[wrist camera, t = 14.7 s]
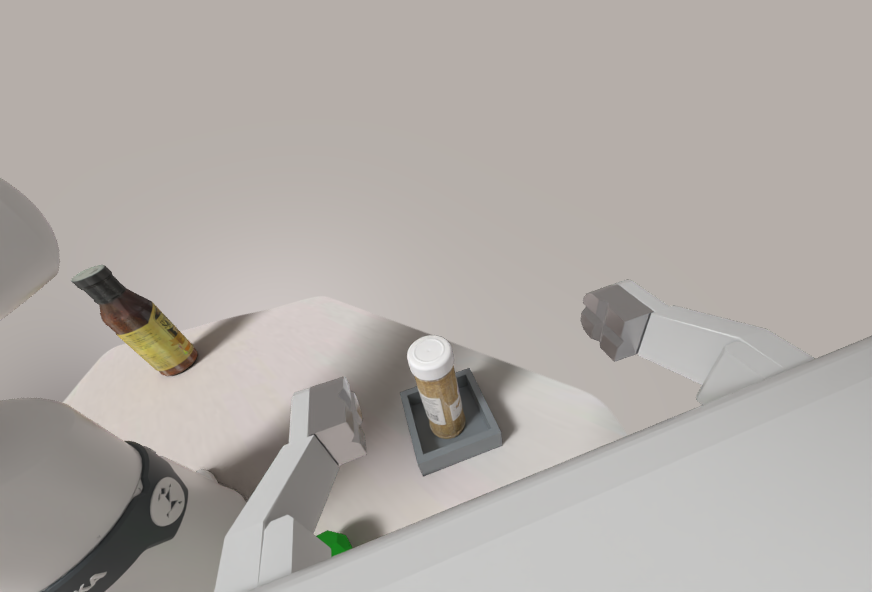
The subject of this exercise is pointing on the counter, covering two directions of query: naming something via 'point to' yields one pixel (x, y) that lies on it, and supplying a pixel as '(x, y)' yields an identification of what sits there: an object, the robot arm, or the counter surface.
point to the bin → (469, 443)
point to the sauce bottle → (137, 322)
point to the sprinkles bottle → (437, 384)
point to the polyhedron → (335, 542)
